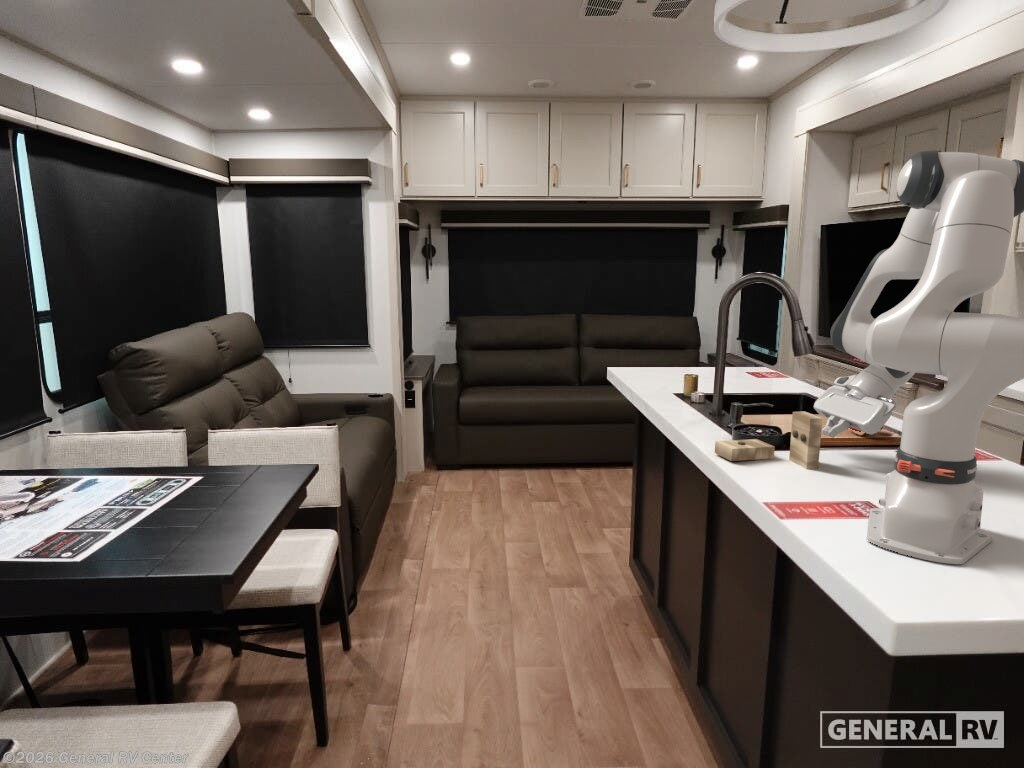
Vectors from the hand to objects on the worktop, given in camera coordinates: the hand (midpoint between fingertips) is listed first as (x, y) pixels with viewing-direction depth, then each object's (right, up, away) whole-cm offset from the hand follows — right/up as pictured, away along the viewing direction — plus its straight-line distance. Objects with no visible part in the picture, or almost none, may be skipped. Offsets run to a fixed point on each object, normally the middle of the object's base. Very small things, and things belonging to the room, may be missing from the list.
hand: (826, 434), depth 153 cm
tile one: (-12, -4, +8) cm, 15 cm away
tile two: (-5, -7, 0) cm, 9 cm away
